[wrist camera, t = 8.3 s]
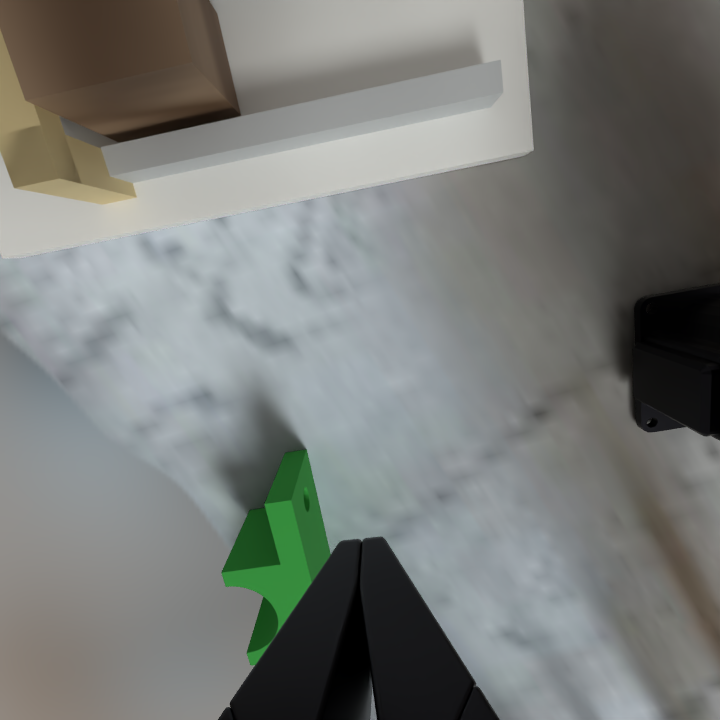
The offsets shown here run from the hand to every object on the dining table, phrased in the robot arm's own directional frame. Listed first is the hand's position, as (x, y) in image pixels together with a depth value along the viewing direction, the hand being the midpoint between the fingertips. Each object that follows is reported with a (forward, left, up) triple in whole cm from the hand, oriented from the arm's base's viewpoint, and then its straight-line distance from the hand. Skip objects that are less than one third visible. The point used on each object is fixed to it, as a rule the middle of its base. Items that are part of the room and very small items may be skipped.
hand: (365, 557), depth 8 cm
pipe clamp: (+6, +9, -12) cm, 16 cm away
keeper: (+5, -13, -11) cm, 18 cm away
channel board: (+3, -13, -12) cm, 18 cm away
